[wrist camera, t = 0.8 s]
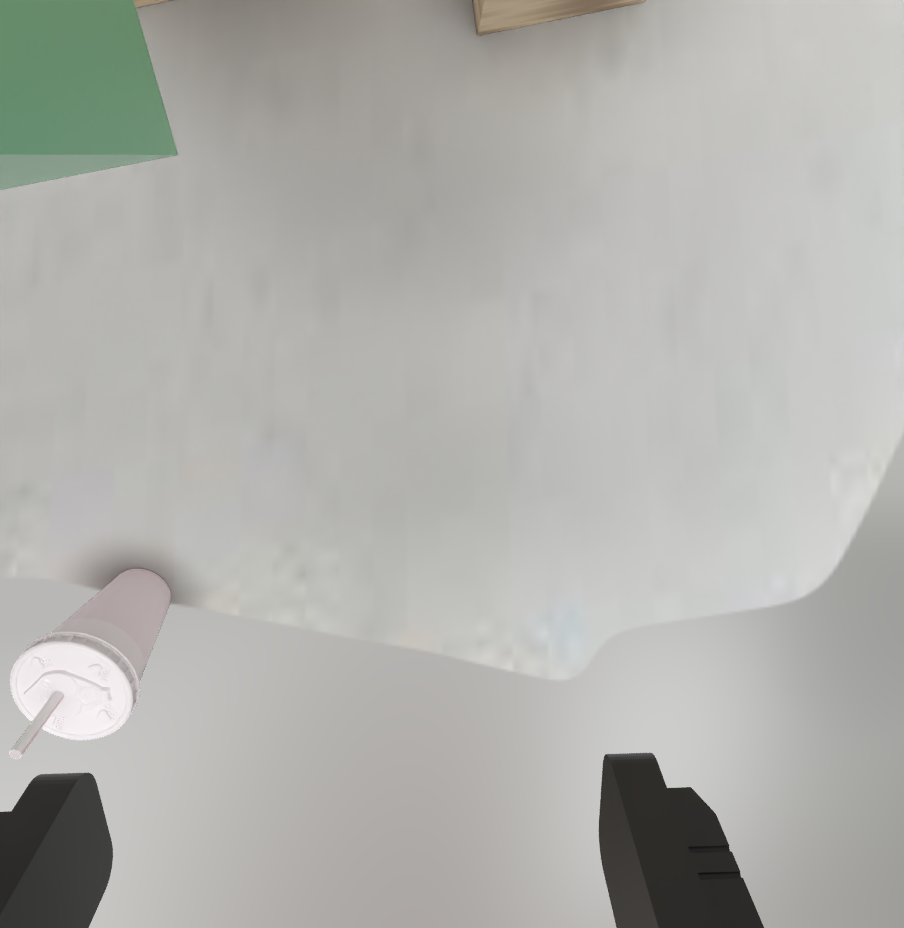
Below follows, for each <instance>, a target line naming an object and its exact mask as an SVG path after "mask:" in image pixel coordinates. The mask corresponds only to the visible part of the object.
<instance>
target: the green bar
mask: <svg viewBox="0 0 904 928" xmlns="http://www.w3.org/2000/svg"><path fill="white" fill-rule="evenodd" d="M176 155H178V153H177V149H176V146H175V143H174V139H173V136H172V132H171V129H170V125H169V122H168V118H167V115H166V111H165V108H164V104H163V101H162V97H161V94H160V91H159V87H158V84H157V80H156V77H155V73H154V70H153V66H152V63H151V59H150V56H149V52H148V49H147V45H146V42H145V39H144V35H143V32H142V28H141V25H140V21H139V18H138V14H137V11H136V7H135V4H134V0H0V190H2V189H7V188H12V187H18V186H23V185H28V184H33V183H38V182H43V181H48V180H53V179H58V178H63V177H69V176H74V175H79V174H84V173H89V172H94V171H99V170H104V169H109V168H114V167H120V166H125V165H130V164H135V163H140V162H145V161H150V160H155V159H160V158H165V157H171V156H176Z"/></svg>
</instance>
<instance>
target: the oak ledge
mask: <svg viewBox="0 0 904 928" xmlns="http://www.w3.org/2000/svg"><path fill="white" fill-rule="evenodd" d="M645 1H646V0H472V2H473V9H474V15H475V22H476V29H477V36H479V35H484V34H489V33H494V32H499V31H504V30H509V29H514V28H519V27H524V26H529V25H534V24H539V23H543V22H548V21H553V20H558V19H563V18H568V17H573V16H578V15H583V14H588V13H593V12H598V11H603V10H608V9H613V8H618V7H623V6H628V5H633V4H638V3H643V2H645Z"/></svg>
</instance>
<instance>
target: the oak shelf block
mask: <svg viewBox="0 0 904 928" xmlns="http://www.w3.org/2000/svg"><path fill="white" fill-rule="evenodd" d="M165 1H170V0H134V4H135V7H136V8H137V7H141V6H146V5H151V4H156V3H160V2H165Z"/></svg>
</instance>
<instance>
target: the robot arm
mask: <svg viewBox="0 0 904 928" xmlns="http://www.w3.org/2000/svg"><path fill="white" fill-rule="evenodd" d="M600 802H601V803H600V816H599V843H600V853H601V860H602V866H603V871H604V875H605V880H606V884H607V888H608V892H609V897H610V901H611V905H612V909H613V913H614V918H615V922H616V927H617V928H764V927H763V924H762V922H761V920H760V917H759V915H758V913H757V910H756V908H755V905H754V903H753V901H752V899H751V896H750V894H749V891H748V889H747V887H746V884H745V882H744V880H743V878H741V876H740V870H739V868H738V865H737V863H736V861H735V858H734V856H733V853H732V852H730V850H729V844H728V842H727V840H726V837H725V835H724V832H723V830H722V828H721V825H720V823H719V821H718V818H717V816H716V814H715V813H714V812H713V810H711V808H710V807H709V806H708V805H707V804H706V803H705V802H704V801H703V800H702V799H701V798H700V797H699V796H698V794H697V793H696V792H695V791H694V790H693V789H692V788H691V787H686V788H667V787H666V785H665V782H664V779H663V776H662V774H661V771H660V768H659V765H658V762H657V760H656V758H655V756H654V755H653V754H652V753H631V754H606V755H605V756H604V760H603V771H602V786H601V801H600ZM112 859H113V848H112V842H111V838H110V834H109V830H108V826H107V822H106V818H105V814H104V811H103V807H102V803H101V799H100V795H99V791H98V787H97V783H96V781H95V778H94V776H93V775H92V774H90V773H68V774H41V775H38V776H37V777H35V778H34V779H33V780H32V781H31V783H30V784H29V785H28V787H27V788H26V790H25V792H24V793H23V795H22V796H21V798H20V799H19V801H18V802H17V804H16V806H15V807H14V809H13V810H12V812H0V928H88V927H89V925H90V923H91V921H92V918H93V916H94V914H95V912H96V910H97V907H98V905H99V903H100V901H101V898H102V896H103V894H104V892H105V890H106V887H107V884H108V881H109V877H110V873H111V868H112Z"/></svg>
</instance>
